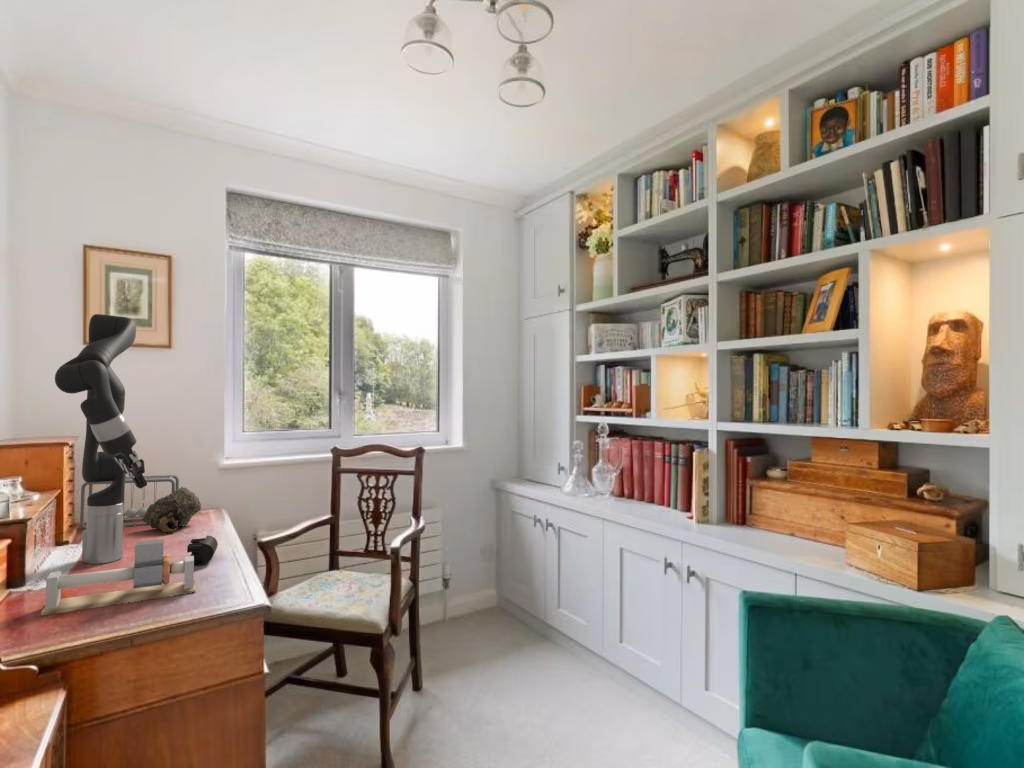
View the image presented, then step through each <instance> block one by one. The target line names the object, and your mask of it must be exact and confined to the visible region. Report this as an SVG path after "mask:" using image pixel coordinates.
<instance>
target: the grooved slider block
mask: <svg viewBox="0 0 1024 768" xmlns="http://www.w3.org/2000/svg"><path fill="white" fill-rule="evenodd" d="M164 542H165V540H164V538H160V539H150V540H140V541H135V544H134V564H133V567H134V579H133V588H132V589H136V588H143V587H150V586H158V585H163V583H162V567H163V556H164V546H165V545H164V544H165V543H164Z"/></svg>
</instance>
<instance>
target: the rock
mask: <svg viewBox="0 0 1024 768" xmlns="http://www.w3.org/2000/svg"><path fill="white" fill-rule="evenodd" d="M201 510H202V504H201V501H200V500H199V497H198V496H197V495H196V493H195V492H194V491H191V490H190V489H188V488H186V487H183V486H181V487H179V489H176V488H175V492H173V493H172V492H171V493H169V494H168V495H165V496H164V497H160V498H158V499H157V498H156V502H155V503H152V504H150V505H149V506H148V508H147V511H146V514H145V516H144V517H142V518H143V521H142V522H143V523H146V525H145V526H150V528H151V529H152V528H155V530H156V529H157V530H161V531H162V532H165V533H166V532H168V533H167V534H170V532H173V533H174V532H176V531H177V530H178V527H179V528H181V527H180V526H183V525H184V526H187V525H188V524H189V523H190V521H191V519H192V518H193V516H194V515H196V514H197V513H199V512H200V511H201ZM177 526H178V527H177ZM184 526H183V527H184Z"/></svg>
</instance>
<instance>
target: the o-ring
mask: <svg viewBox="0 0 1024 768" xmlns="http://www.w3.org/2000/svg"><path fill="white" fill-rule="evenodd" d="M170 564H171V555H170V554H169V553H165V554H163V567H162V585H165V584H170V579H171V576H170V575H171V574H170Z"/></svg>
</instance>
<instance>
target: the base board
mask: <svg viewBox="0 0 1024 768" xmlns="http://www.w3.org/2000/svg"><path fill="white" fill-rule="evenodd" d="M192 592H195V593H196V580H194V579H193V588H191V589H184V581H181V582H174V583H168V584H162V585H156V586H149V587H142V588H134V589H133V588H131V589H122V590H117V591H108V592H101V593H93V594H87V595H86V594H85V595H80V596H72V597H64V598H60V602H59V604H58V606H57V608H52V609H46V610H45V606H44V607H43V608H42V610H41V612H40V616H47V615H54V614H55V613H56V614H61V613H68V612H69V613H70V612H74V611H75V610H76V611H83V610H88V609H95V608H101V607H108V606H116V605H122V604H121V603H123V604H128V602H130V603H135V601H136V602H142V601H141V600H143V601H148V599H150V600H155V599H154V598H157V599H161V598H160V597H163V598H166V597H165V596H170V597H172V596H171V595H177V594H183V595H186V594H185V593H190V594H193V593H192ZM177 596H178V595H177ZM115 604H116V605H115ZM82 609H83V610H82Z"/></svg>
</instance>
